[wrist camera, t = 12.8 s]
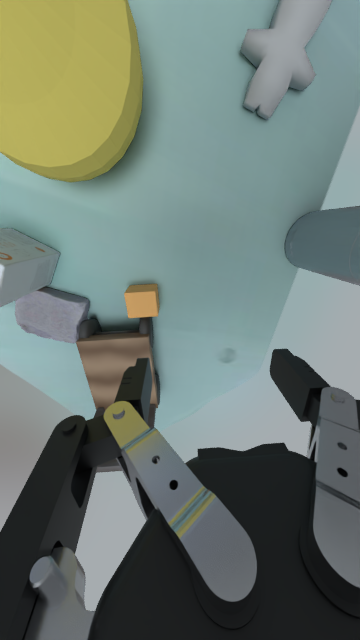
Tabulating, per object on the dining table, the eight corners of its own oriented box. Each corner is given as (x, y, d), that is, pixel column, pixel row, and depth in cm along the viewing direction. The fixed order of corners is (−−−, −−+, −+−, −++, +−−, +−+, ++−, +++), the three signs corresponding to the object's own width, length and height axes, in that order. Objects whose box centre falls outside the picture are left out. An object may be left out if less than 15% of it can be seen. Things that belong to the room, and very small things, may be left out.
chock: (157, 283, 37) (155, 291, 33) (159, 306, 39) (157, 316, 35) (129, 285, 37) (124, 293, 33) (133, 307, 39) (128, 318, 35)
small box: (3, 262, 35) (-83, 280, 23) (11, 227, 33) (-81, 226, 21) (51, 284, 37) (-6, 311, 25) (61, 252, 35) (4, 264, 23)
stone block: (89, 334, 43) (92, 295, 38) (79, 350, 39) (80, 308, 34) (31, 319, 42) (25, 275, 36) (14, 333, 38) (4, 287, 32)
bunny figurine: (228, 82, 24) (316, -161, 17) (221, 101, 28) (288, -86, 21) (295, 122, 26) (399, -84, 19) (278, 134, 30) (357, -29, 23)
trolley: (88, 314, 39) (28, 377, 23) (150, 310, 39) (135, 370, 23) (109, 393, 47) (75, 482, 31) (160, 390, 48) (154, 476, 31)
